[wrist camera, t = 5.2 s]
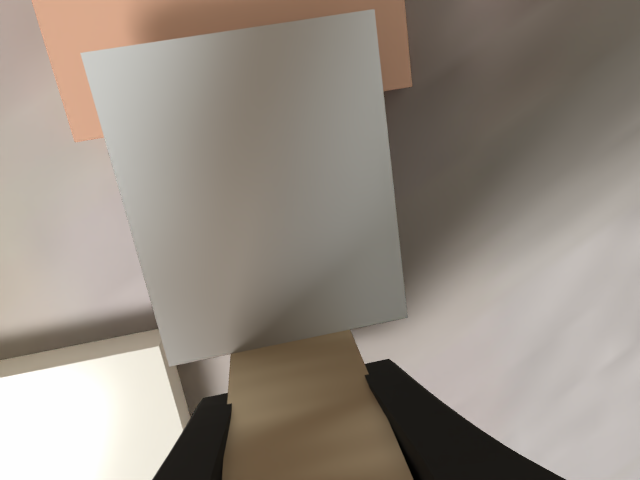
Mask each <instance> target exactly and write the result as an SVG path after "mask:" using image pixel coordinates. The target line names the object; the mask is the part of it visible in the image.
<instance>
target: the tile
mask: <svg viewBox="0 0 640 480" xmlns="http://www.w3.org/2000/svg"><path fill="white" fill-rule="evenodd" d="M32 4H33V7H34V10H35V13H36V17H37V20H38V23H39V27H40V30H41V33H42V36H43V40H44V43H45V46H46V49H47V53H48V56H49V59H50V63H51V66H52V69H53V72H54V76H55V79H56V82H57V85H58V89H59V92H60V95H61V99H62V102H63V105H64V108H65V112H66V115H67V118H68V121H69V125H70V128H71V131H72V135H73V138H74V141H75V142H80V141H86V140H92V139H98V138H104V135H103V131H102V128H101V124H100V121H99V117H98V114H97V110H96V107H95V103H94V100H93V96H92V93H91V89H90V86H89V82H88V79H87V75H86V72H85V68H84V64H83V61H82V57H81V54H80V53H83V52H90V51H97V50H103V49H110V48H117V47H124V46H130V45H137V44H144V43H150V42H157V41H164V40H170V39H177V38H184V37H191V36H197V35H204V34H211V33H217V32H224V31H231V30H237V29H244V28H251V27H258V26H264V25H271V24H278V23H284V22H291V21H298V20H304V19H311V18H318V17H325V16H331V15H338V14H345V13H351V12H358V11H365V10H371V9H375V19H376V28H377V37H378V47H379V56H380V65H381V74H382V84H383V91H388V90H394V89H401V88H407V87H412V77H411V66H410V55H409V44H408V33H407V22H406V10H405V0H32Z"/></svg>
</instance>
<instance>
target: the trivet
mask: <svg viewBox="0 0 640 480" xmlns="http://www.w3.org/2000/svg"><path fill="white" fill-rule="evenodd" d="M190 418H191V417H190V414H189V410H188V406H187V403H186V399H185V396H184V392H183V389H182V385H181V381H180V378H179V374H178V371H177V367H176V365H175V366H170V367H169V364H168V361H167V357H166V354H165V350H164V347H163V343H162V339H161V336H160V332H159V329H155V330H150V331H145V332H140V333H135V334H130V335H124V336H119V337H114V338H109V339H104V340H99V341H94V342H89V343H84V344H79V345H74V346H69V347H64V348H59V349H54V350H49V351H44V352H39V353H34V354H29V355H24V356H19V357H14V358H9V359H3V360H0V480H152V479H153V477H154V476H155V474H156V473H157V471H158V470H159V468H160V467H161V465H162V464H163V462H164V460H165V459H166V457H167V456H168V454H169V453H170V451H171V450H172V448H173V446H174V445H175V443H176V441H177V440H178V438H179V436H180V435H181V433H182V431H183V430H184V428H185V426H186V425H187V423H188V421H189V420H190Z"/></svg>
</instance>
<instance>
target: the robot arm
mask: <svg viewBox="0 0 640 480" xmlns="http://www.w3.org/2000/svg"><path fill="white" fill-rule="evenodd" d="M365 366H366V369H367V371H368V373H369V374H367V375H365V378H366V380H367V383H368V385H369V388H370V389H371V391H372V393H373V395H374V396H375V398H376V400H377V402H378V403H379V405H380V407H381V409H382V410H383V412H384V414H385V416H386V417H387V419H388V421H389V423H390V425H391V428H392V430H393V432H394V435H395V437H396V439H397V442H398V444H399V447H400V449H401V451H402V454H403V456H404V458H405V461H406V463H407V465H408V468H409V470H410V473H411V475H412V477H413V480H566V479H564V478H562V477H560V476H558V475H556V474H554V473H553V472H551V471H549V470H547V469H545V468H543V467H542V466H540V465H538V464H536V463H534V462H532V461H531V460H529V459H527V458H525V457H523V456H522V455H520V454H518V453H517V452H515V451H513V450H511V449H510V448H508V447H507V446H505V445H503V444H502V443H500V442H499V441H497V440H496V439H494V438H493V437H491V436H490V435H488V434H487V433H485V432H483V431H482V430H480V429H479V428H478V427H476V426H475V425H473V424H472V423H470V422H469V421H467V420H466V419H465V418H463V417H462V416H461V415H459V414H458V413H457V412H455V411H454V410H453V409H451V408H450V407H448V406H447V405H446V404H444V403H443V402H442V401H440V400H439V399H438V398H437V397H435V396H434V395H433V394H431V393H430V392H429V391H428V390H426V389H425V388H424V387H423V386H421V385H420V384H419V383H418V382H417V381H415V380H414V379H413V378H412V377H411V376H409V375H408V374H407V373H406V372H405V371H403V370H402V369H401V368H400V367H399V366H398V365H396V364H395V363H394V362H392V361H391V360H390V359H386V360H381V361H377V362H372V363H367V364H365ZM227 400H228V393H226V394H221V395H216V396H211V397H207V398H203V399H202V401H201V402H200V403H199V405H198V406H197V408H196V410H195V411H194V413H193V415H192V416H191V418H190V420H189V421H188V423H187V425H186V426H185V428H184V430H183V431H182V433H181V435H180V436H179V438H178V440H177V441H176V443H175V445H174V446H173V448H172V450H171V451H170V453H169V454H168V456H167V457H166V459H165V460H164V462H163V464H162V465H161V467H160V468H159V470H158V471H157V473H156V474H155V476H154V477H153V479H152V480H222V471H223V458H224V453H225V447H226V442H227V437H228V432H229V426H230V421H231V412H232V403H231V404H227Z"/></svg>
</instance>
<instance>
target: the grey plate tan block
mask: <svg viewBox="0 0 640 480" xmlns="http://www.w3.org/2000/svg"><path fill="white" fill-rule="evenodd" d="M80 54H81V57H82V61H83V64H84V68H85V72H86V75H87V79H88V82H89V86H90V89H91V93H92V96H93V100H94V103H95V107H96V110H97V114H98V117H99V121H100V124H101V128H102V131H103V135H104V139H105V142H106V146H107V149H108V153H109V156H110V160H111V163H112V167H113V170H114V174H115V177H116V181H117V184H118V188H119V191H120V195H121V198H122V202H123V206H124V209H125V213H126V216H127V220H128V223H129V227H130V230H131V234H132V237H133V241H134V244H135V248H136V251H137V255H138V258H139V262H140V265H141V269H142V272H143V276H144V280H145V283H146V287H147V290H148V294H149V297H150V301H151V304H152V308H153V311H154V315H155V318H156V322H157V325H158V329H159V332H160V336H161V339H162V343H163V347H164V350H165V354H166V357H167V361H168V364H169V367H170V366H175V365H180V364H185V363H189V362H194V361H199V360H204V359H209V358H214V357H219V356H224V355H228V354H231V357H230V372H229V386H228V400H227V404H231V403H232V412H231V421H230V426H229V432H228V437H227V442H226V447H225V453H224V458H223V471H222V480H413V477H412V475H411V473H410V470H409V468H408V465H407V463H406V461H405V458H404V456H403V454H402V451H401V449H400V447H399V444H398V442H397V439H396V437H395V435H394V432H393V430H392V428H391V425H390V423H389V421H388V419H387V417H386V416H385V414H384V412H383V410H382V409H381V407H380V405H379V403H378V402H377V400H376V398H375V396H374V395H373V393H372V391H371V389H370V388H369V385H368V383H367V380H366V378H365V375H367V374H369V373H368V371H367V369H366V366H365V364H364V361H363V359H362V357H361V354H360V352H359V350H358V347H357V345H356V343H355V340H354V338H353V335H352V333H351V331H350V329H355V328H360V327H365V326H370V325H374V324H379V323H384V322H389V321H394V320H399V319H404V318H408V315H407V306H406V297H405V287H404V278H403V269H402V260H401V250H400V241H399V232H398V223H397V213H396V204H395V195H394V185H393V176H392V167H391V158H390V148H389V139H388V130H387V121H386V111H385V102H384V93H383V84H382V74H381V65H380V56H379V47H378V37H377V28H376V19H375V9H371V10H365V11H358V12H351V13H345V14H338V15H331V16H325V17H318V18H311V19H304V20H298V21H291V22H284V23H278V24H271V25H264V26H258V27H251V28H244V29H237V30H231V31H224V32H217V33H211V34H204V35H197V36H191V37H184V38H177V39H170V40H164V41H157V42H150V43H144V44H137V45H130V46H124V47H117V48H110V49H103V50H97V51H90V52H83V53H80Z"/></svg>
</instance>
